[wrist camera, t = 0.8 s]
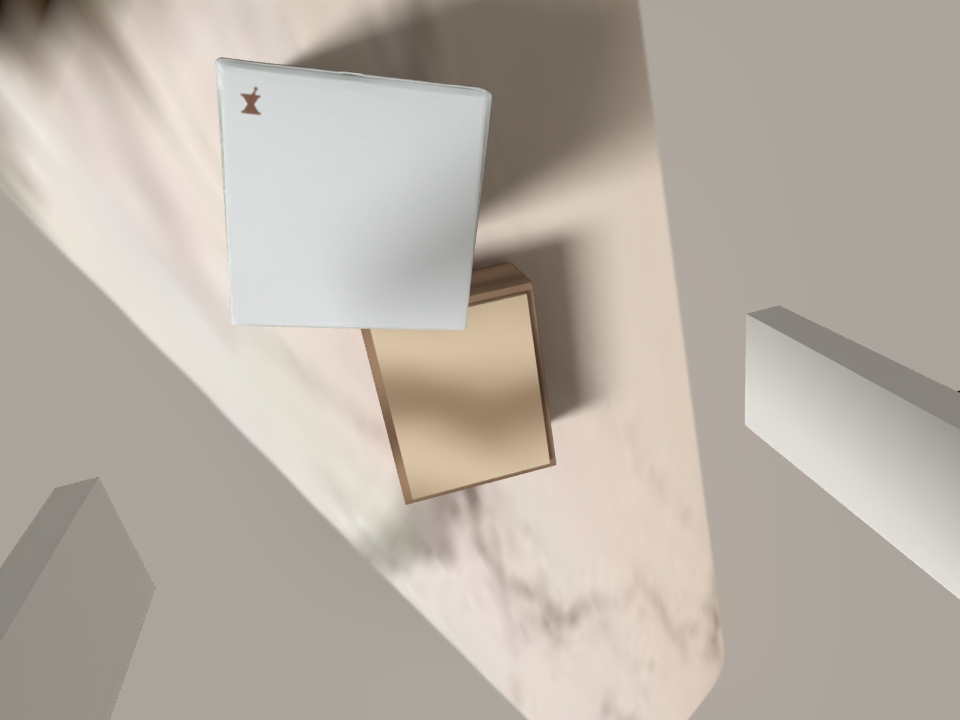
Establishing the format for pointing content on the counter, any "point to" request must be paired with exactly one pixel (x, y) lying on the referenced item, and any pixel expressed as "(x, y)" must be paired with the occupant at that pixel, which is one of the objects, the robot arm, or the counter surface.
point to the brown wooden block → (466, 392)
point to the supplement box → (349, 196)
